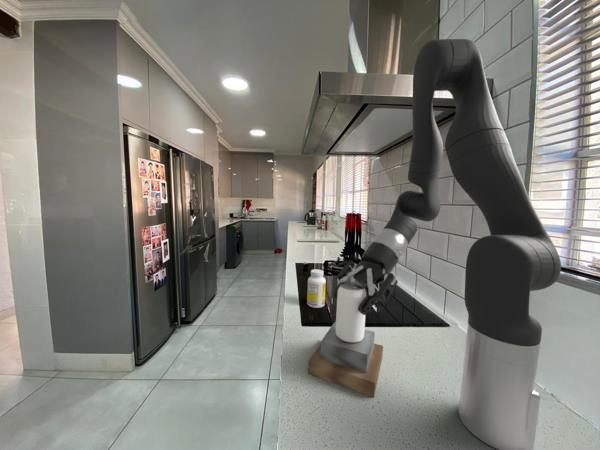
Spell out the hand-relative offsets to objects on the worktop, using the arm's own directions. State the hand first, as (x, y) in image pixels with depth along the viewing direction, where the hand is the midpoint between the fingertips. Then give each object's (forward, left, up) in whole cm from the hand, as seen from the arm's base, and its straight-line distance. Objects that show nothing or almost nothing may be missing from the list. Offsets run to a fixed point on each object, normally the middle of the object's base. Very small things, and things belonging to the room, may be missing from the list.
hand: (347, 304), depth 54 cm
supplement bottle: (+18, -29, -15) cm, 37 cm away
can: (-1, -1, -8) cm, 8 cm away
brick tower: (-1, -1, -15) cm, 15 cm away
